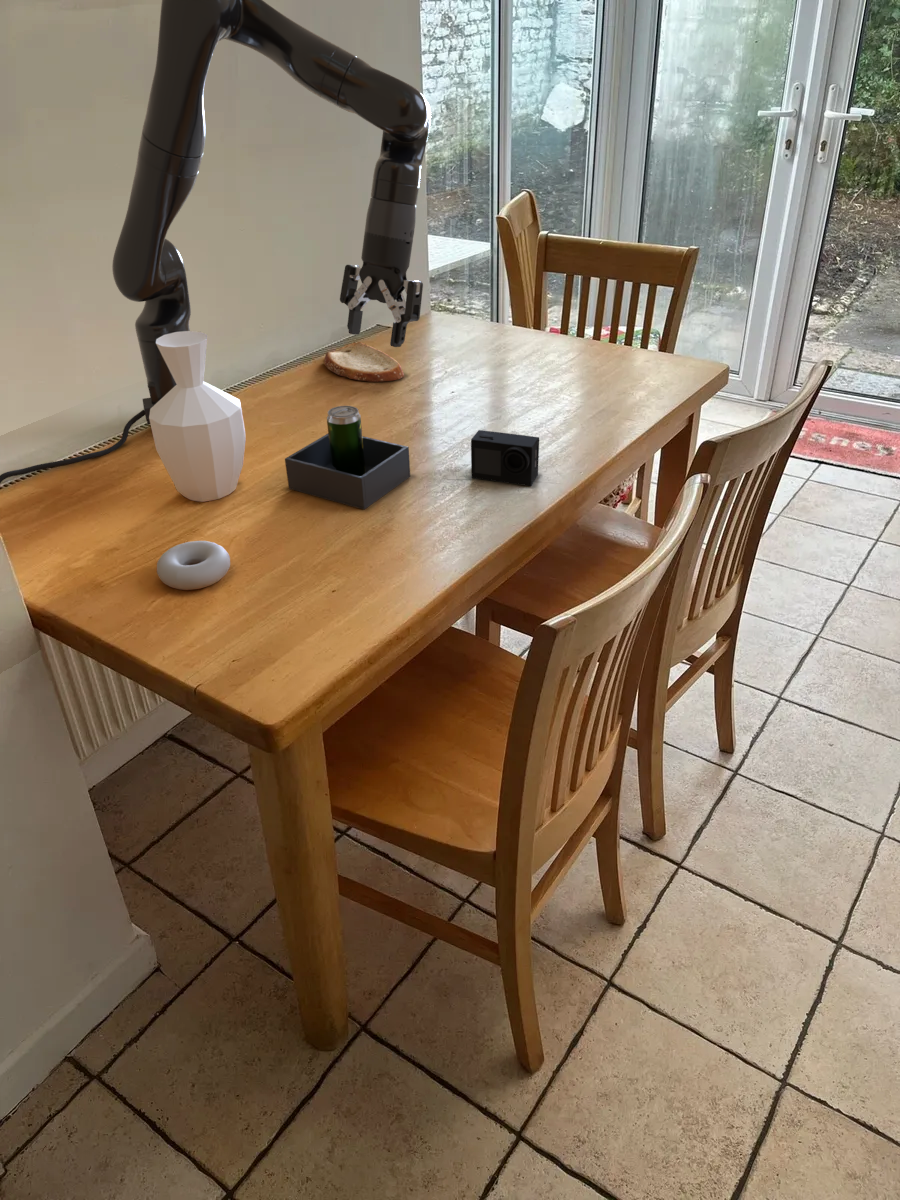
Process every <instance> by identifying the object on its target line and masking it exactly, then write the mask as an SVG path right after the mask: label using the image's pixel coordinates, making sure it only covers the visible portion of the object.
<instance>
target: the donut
mask: <svg viewBox="0 0 900 1200" xmlns="http://www.w3.org/2000/svg"><path fill="white" fill-rule="evenodd" d="M230 568H231V556H230V554H229V552H228V551H227V549H225V548H224V546H222V545H220V544H218V543H216V542H214V541H208V540H193V541H186V542H183V543H179V544H176V545H174V546H172V547H170V548H168V549H167V550H166V551H164V553H162V554H161V556H160V557H159V559H158V560H157V563H156V574H157V577H158V578H159V579H160V581H161V582H162V583H163V584H165V585H167V586H168V587H169V588H172V589H176V590H181V591H182V590H183V591H186V590H187V591H193V590H199V589H200V590H201V589H203V588H207V587H210V586H212V585H214V584H216V583H218V582H220V581H221V580H222V579H223V578H224V577H225V576H226V575H227V573H228V571H229V570H230Z"/></svg>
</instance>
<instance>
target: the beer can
mask: <svg viewBox="0 0 900 1200" xmlns="http://www.w3.org/2000/svg"><path fill="white" fill-rule="evenodd" d="M326 424H327V434H329V443H330V452H331V462H332V469H334V470H338V471H342V472H346V473H349V474H353V475H357V476H362V475H364V474H365V473H366V472H365V461H364V450H363V438H362V436H363V430H362V429H363V428H362V416H361V414H360V411H359V409H358V407H356V406H352V405H339V406H335V407H332V408H329V410H327V417H326Z"/></svg>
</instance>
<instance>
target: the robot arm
mask: <svg viewBox="0 0 900 1200" xmlns="http://www.w3.org/2000/svg"><path fill="white" fill-rule="evenodd" d="M160 3H161V5H160V18H159V28H158V29H159V31H158V39H157V41H158V42H157V50H156V51H157V53H156V61H155V68H154V74H153V78H152V82H151V87H150V90H149V97H148V102H147V106H146V113H145V117H144V121H143V125H142V131H141V135H140V140H139V141H140V142H139V146H138V151H137V158H136V166H135V171H134V176H133V181H132V186H131V190H130V194H129V200H128V204H127V210H126V213H125V218H124V221H123V224H122V227H121V230H120V233H119V236H118V240H117V243H116V246H115V249H114V253H113V257H112V266H111V267H112V276H113V281H114V284H115V286H116V288H117V290H118V291H119V293H120V294H121V295H122V296H123V297H124V298H126V299H128V300H130V301H132V302H137V303H141V302H144V305H143V308H142V310H141V312H140V314H139V315H138V317H137V318H136V320H135V322H134V329H135V332H136V337H137V341H138V346H139V350H140V354H141V359H142V362H143V363H142V364H143V369H144V373H145V378H146V383H147V388H148V392H149V397H145V398H142V399H141V400H142V406H143V409H142V410H141V411H140V412H138V413H136V414H135V415H134V416H133V417H131V418H130V419H129V420H128V421H127V422H126V424H125V425H124V427H123V431H122V435H121V438H120V439H119V440H118V441H117V442H116V443H115V444H113V445H112V446H110V447H107V448H105V449H103V450H102V449H101V450H97V451H94V452H90V453H86V454H82V455H79V456H74V457H71V458H66V459H61V460H55V461H49V462H44V463H39V464H35V465H32V466H27V467H24V468H19V469H14V470H9V471H6V472H3V473H1V474H0V484H1V483H3V481H4V480H7V479H9V478H12V477H16V476H22V475H27V474H30V473H33V472H37V471H41V470H42V471H43V470H47V469H52V468H58V467H64V466H69V465H73V464H77V463H81V462H84V461H88V460H91V459H95V458H96V459H97V458H100V457H102V456H106V455H107V454H110V453H112V452H114V451H116V450H118V449H120V448H121V447H122V446H123V445H124V444H125V443H126V442H127V440H128V437H129V431H130V429H131V428H132V426H133V425H135V423H136V422H138V421H140V419H142V418H143V417H145V420H146V424H147V426H148V425H151V424H150V420H149V415H150V409H151V408H152V407H153V406H154V405H155V404H156V403H157V402H158V401H159V400H160V399H162V398H163V397H164V396H165V395H166V394H167V393H168V392H169V391H170V390H171V389H172V388H173V387H175V386H176V385H177V384H176V382H175V380H174V378H173V376H172V374H171V372H170V370H169V368H168V366H167V364H166V362H165V360H164V358H163V356H162V354H161V353H160V351H159V349H158V347H157V345H156V339H158V338H159V337H161V336H163V335H166V334H170V333H174V332H182V331H191V328H190V321H191V313H192V311H191V310H192V308H191V302H190V293H189V285H188V280H187V279H188V278H187V273H186V268H185V265H184V260H183V258H182V256H181V254H180V252H179V250H178V249H177V247H176V246H175V245H174V243H172V242H171V241H170V240H168V239H167V238H166V237H167V234H168V231H169V230H170V227H171V225H172V223H173V222H174V220H175V218H176V217H177V215H178V214H179V212H181V209H182V207H183V206H184V205H185V203H186V201H187V199H188V198H189V196H190V195H191V192H193V189H194V187H195V184H196V182H197V178H198V176H199V172H200V168H201V164H202V160H203V156H204V151H205V145H206V135H207V134H206V133H207V132H206V128H207V127H206V117H205V116H206V115H205V107H204V93H205V92H204V91H205V84H206V79H207V75H208V71H209V69H210V64H211V61H212V58H213V55H214V53H215V50H216V47H217V45H218V42H221V41H223V40H227V41H230V42H233V43H236V44H238V45H241V46H245V47H247V48H250V49H251V50H253V51H255V52H257V53H259V54H261V55H263V56H264V57H266V58H267V59H269V60H271V61H272V62H273V63H274V64H276V65H277V66H278V67H279V68H281V70H283V72H285V73H286V74H288V76H289V77H291V78H292V79H293V80H294V81H295V82H297V83H298V84H299V85H300V86H302V87H303V88H304V89H306V90H307V91H308V92H311V93H312V94H314V95H315V96H318V97H319V98H321V99H323V100H325V101H326V102H328V103H330V104H332V105H334V106H335V107H338V108H340V109H341V110H343V111H345V112H347V113H351V114H355V115H357V116H358V117H360V118H361V119H363V120H364V121H366V122H368V123H369V124H371V125H372V126H375V127H376V128H377V129H380V130H382V137H381V144H380V152H379V156H378V159H377V160H376V161H375V165H374V169H373V175H372V184H371V192H370V199H369V204H368V208H367V213H366V217H365V224H364V234H363V242H362V250H361V256H360V257H361V261H362V266H360V265H358V264H346V265H344V270H343V277H342V282H341V289H340V295H339V301H340V303H341V304H344V305H346V306H347V308H348V317H347V324H346V326H347V330H348V334H350V335H354V336H355V335H360V333H361V329H362V322H363V313H364V310H363V308H364V307H365V306H366V305H367V304H368V302H370V301H378V302H379V303H382V304H386V305H387V308H388V309H389V310H390V311H391V314H392V316H393V319H394V322H393V323H392V328H391V336H390V342H389V344H390V345H389V346H390V347H393V348H400V347H402V345H403V344H404V343H405V342H406V341H405V340H406V334H407V333H406V332H407V328H408V327H407V326H408V324H409V323H411V322H418V321H419V320H420V317H421V309H422V308H421V307H422V297H423V289H424V284H423V281H422V280H409V279H408V278H407V271H408V269H409V267H410V262H411V256H412V249H413V243H414V235H415V230H416V229H415V228H416V219H417V215H416V214H417V204H418V195H419V189H420V183H421V182H420V181H421V180H420V179H421V169H422V164H423V160H424V156H425V151H426V148H427V143H428V139H429V138H428V137H429V133H430V128H431V127H430V126H431V118H432V116H431V115H432V114H431V113H432V112H431V107H430V104H429V102H428V101H427V98H426V97H425V96H424V95H423V93H422V92H421V91H420V90H419V89H417V88H416V87H414V86H413V85H411V84H409V83H408V82H406V81H403V80H401V79H399V78H397V77H396V76H393V75H391V74H389V73H387V72H384V71H383V70H379V69H377V68H375V67H373V66H372V65H370V64H369V63H367V61H365V60H364V59H362V58H360V57H358V56H356V55H355V54H352V53H351V52H349V51H347V50H346V49H344V48H342V47H340V46H339V45H336V44H335V43H332V42H331V41H329V40H327V39H325V38H323V37H322V36H320V35H318V34H316V33H314V32H312V31H311V30H309V29H307V28H306V27H304V26H302V25H301V24H299V23H297V22H295V21H293V19H290V18H289V17H287V16H286V15H284V14H283V13H281V12H280V11H278V10H277V9H275V8H274V7H273V6H271V5H270V4H269V3H267V2H266V1H265V0H161V2H160ZM359 280H360V281H361V284H360V286H359V287H358V285H359ZM403 292H404V293H405V294H406V296H405V297H406V298H405V297H404V294H403Z"/></svg>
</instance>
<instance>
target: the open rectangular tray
mask: <svg viewBox="0 0 900 1200" xmlns="http://www.w3.org/2000/svg"><path fill="white" fill-rule="evenodd" d="M362 438H363V450H364V461H365V472H366V473H365V474H364V475H362V476H357V475H353V474H349V473H346V472H342V471H338V470H334V469H332V462H331V452H330V443H329V434H328V433H326V434H324V435H323V436H321V437H319V438H317V439H316V440H314V441H313V442H311V443H309V444H308V445H306V446H304V447H302V448H300V449H299V450H297V451H296V452H294V453H292V454H290V455H289V456H287V457H285V458H284V463H285V469H286V478H287V485H288V489H289V490H292V491H295V492H299V493H303V494H306V495H310V496H313V497H317V498H321V499H324V500H328V501H332V502H335V503H339V504H343V505H346V506H349V507H353V508H356V509H360V510H367V508H369V507H370V506H372V505H373V504H374V503H376V502H377V501H378V500H381V498H383V497H384V496H386V495H387V494H389V493H390V492H391V491H393V490H394V489H395V488H397V487H398V486H400V485H401V484H403V483H404V482H405V481H407V480H408V479H410V477H411V463H410V447H409V446H407V445H402V444H398V443H395V442H389V441H385V440H381V439H376V438H372V437H368V436H364V435H362Z"/></svg>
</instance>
